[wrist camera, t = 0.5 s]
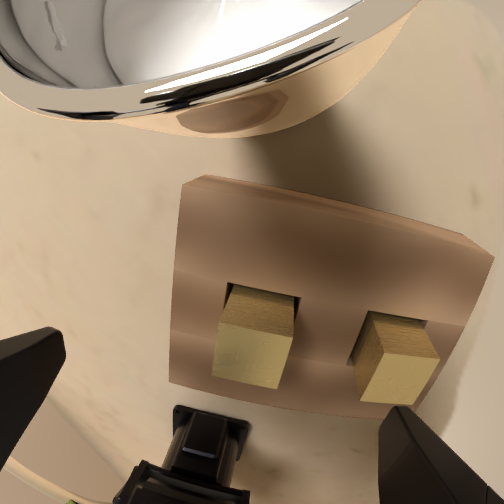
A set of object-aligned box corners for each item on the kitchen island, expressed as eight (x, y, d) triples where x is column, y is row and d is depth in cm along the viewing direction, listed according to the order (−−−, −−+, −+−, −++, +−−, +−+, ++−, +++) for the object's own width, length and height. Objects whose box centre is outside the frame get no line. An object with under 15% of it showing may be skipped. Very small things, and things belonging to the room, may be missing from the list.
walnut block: (397, 382, 21) (408, 420, 17) (187, 345, 22) (168, 382, 18) (462, 234, 17) (494, 257, 13) (205, 174, 18) (182, 184, 14)
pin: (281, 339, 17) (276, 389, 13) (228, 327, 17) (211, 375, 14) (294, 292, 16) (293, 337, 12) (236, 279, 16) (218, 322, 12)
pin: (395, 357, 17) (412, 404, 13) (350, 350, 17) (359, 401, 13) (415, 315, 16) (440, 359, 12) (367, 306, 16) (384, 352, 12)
